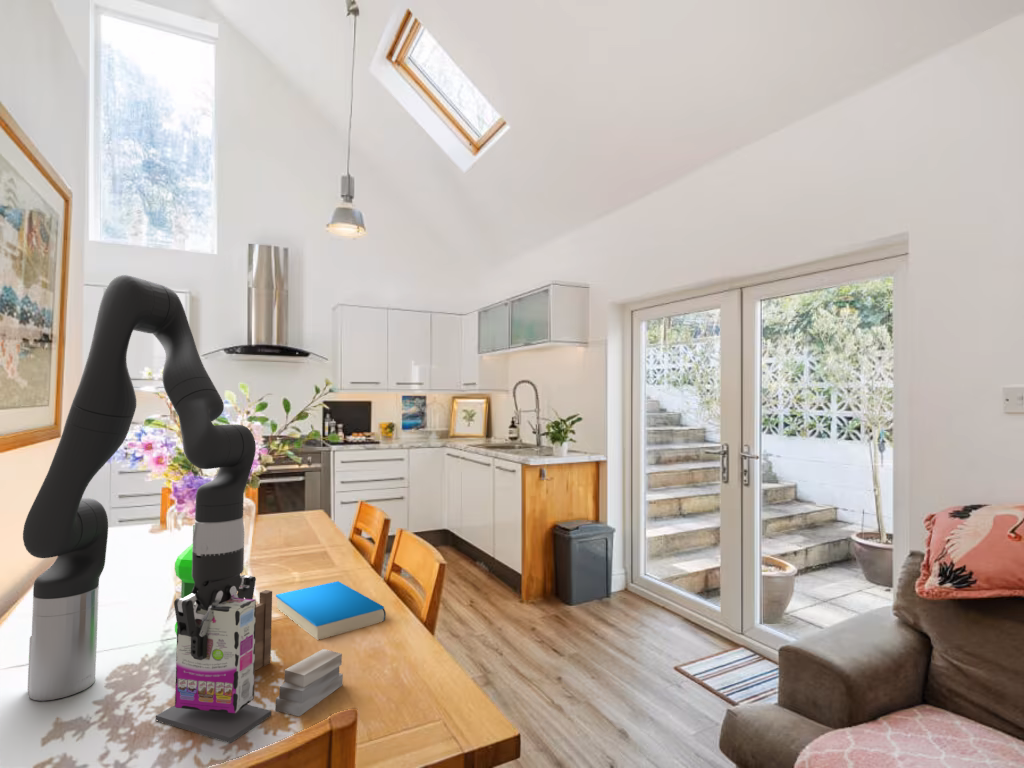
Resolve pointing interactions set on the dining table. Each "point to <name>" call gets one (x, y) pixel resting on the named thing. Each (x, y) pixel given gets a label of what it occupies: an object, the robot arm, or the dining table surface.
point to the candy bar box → (219, 661)
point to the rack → (263, 630)
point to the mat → (215, 721)
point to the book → (330, 609)
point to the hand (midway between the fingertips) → (215, 650)
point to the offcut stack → (309, 682)
